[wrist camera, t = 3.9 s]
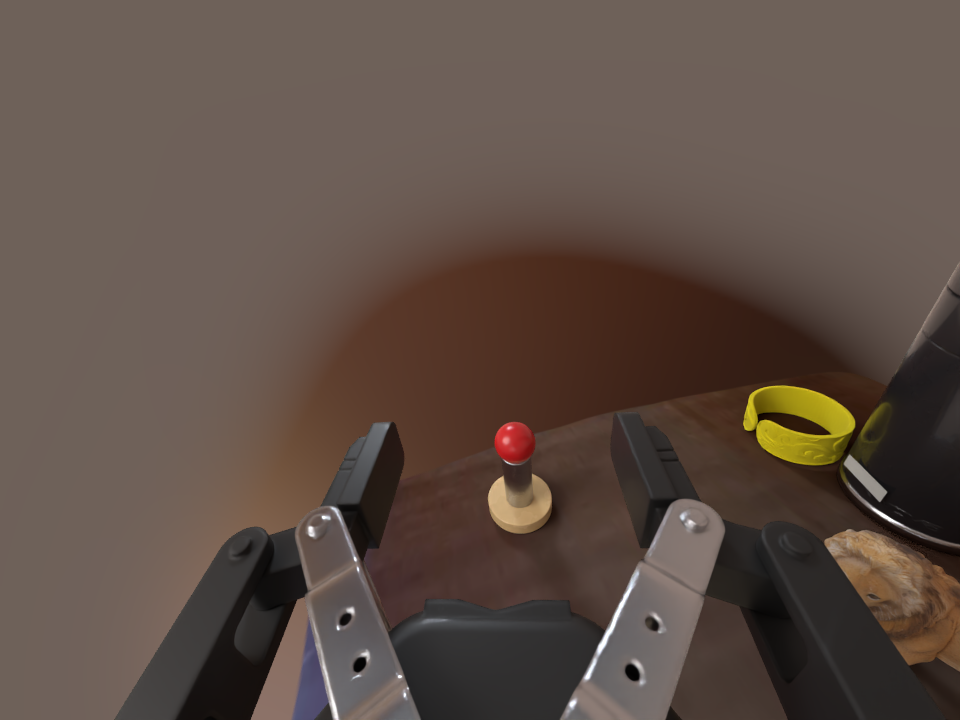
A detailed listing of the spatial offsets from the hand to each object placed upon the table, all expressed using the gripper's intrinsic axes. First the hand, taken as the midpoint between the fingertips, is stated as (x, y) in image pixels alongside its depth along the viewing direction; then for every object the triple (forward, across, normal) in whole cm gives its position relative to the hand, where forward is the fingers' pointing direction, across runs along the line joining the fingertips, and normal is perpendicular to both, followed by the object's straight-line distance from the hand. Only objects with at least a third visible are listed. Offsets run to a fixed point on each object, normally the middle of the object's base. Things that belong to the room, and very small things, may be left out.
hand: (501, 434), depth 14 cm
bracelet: (+19, -27, +20) cm, 38 cm away
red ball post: (+11, 0, +19) cm, 22 cm away
